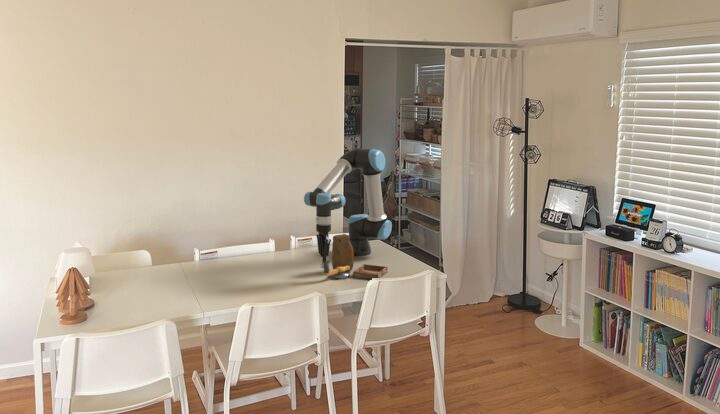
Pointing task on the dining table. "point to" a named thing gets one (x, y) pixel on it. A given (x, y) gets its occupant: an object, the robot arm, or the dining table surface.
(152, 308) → the dining table surface
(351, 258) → the block
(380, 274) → the tray
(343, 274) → the crank base
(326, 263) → the crank
